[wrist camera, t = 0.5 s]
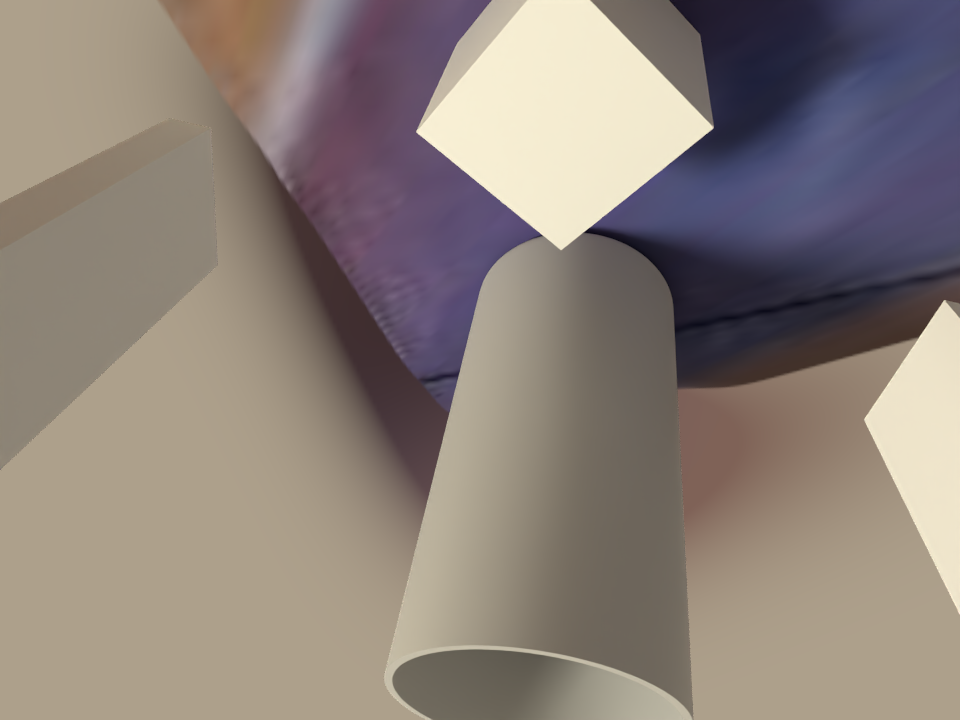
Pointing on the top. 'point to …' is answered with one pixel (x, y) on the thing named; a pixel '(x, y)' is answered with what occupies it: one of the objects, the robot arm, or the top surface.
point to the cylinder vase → (555, 504)
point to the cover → (570, 105)
